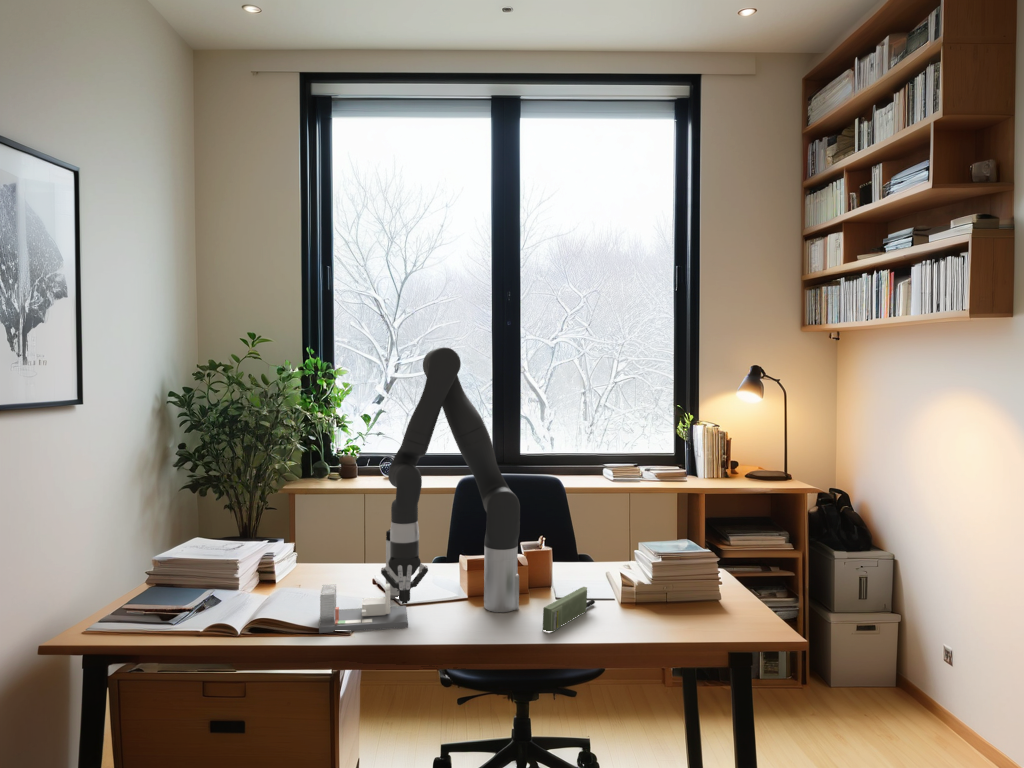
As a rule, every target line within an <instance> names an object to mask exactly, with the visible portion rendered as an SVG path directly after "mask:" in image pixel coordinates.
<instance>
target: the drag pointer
mask: <svg viewBox="0 0 1024 768" xmlns="http://www.w3.org/2000/svg"><path fill="white" fill-rule="evenodd" d="M339 609H340V607H339V606H336V608H335V624H338V621H339Z"/></svg>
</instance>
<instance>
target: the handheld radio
mask: <svg viewBox="0 0 1024 768" xmlns="http://www.w3.org/2000/svg"><path fill="white" fill-rule="evenodd" d="M595 603H596V600H595V599H593V598H592V599H591V600H589V601H588V587H586V586H582V587H579V588H578V589H576V590H574V591H572V592H570V593H568V594H567V595H564V596H563V597H561V598H559V599H557V600H556V601H554V602H551V603H550V604H548V605H546V606H544V607H543V612H542V616H543V617H542V631H543V630H546V631H554V630H555V631H557V630H558V629H557V628H559V627H560V628H562V627H561V625H563V624H565V623H567V622H568V621H570V620H572V619H573V618H575V617H577V616H578V615H580V614H582V613H584V612H585V613H586V612H587V608H589V607H591V606H592V605H595ZM585 613H584V614H585ZM582 615H583V614H582ZM580 616H581V615H580ZM577 618H578V617H577ZM575 619H576V618H575ZM572 621H573V620H572ZM570 622H571V621H570ZM567 624H568V623H567ZM565 625H566V624H565ZM560 628H559V629H560ZM556 629H557V630H556ZM555 631H554V632H555Z"/></svg>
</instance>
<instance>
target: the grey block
mask: <svg viewBox="0 0 1024 768" xmlns="http://www.w3.org/2000/svg"><path fill="white" fill-rule="evenodd" d="M319 596H320V597H319V598H320V599H319V601H320V602H319V605H320V606H319V608H320V609H319V612H320V613H319V614H320V615H319V623H320V622H330V621H334V620H335V608H336V607H337V584H323V585H322V586H321V590H320V595H319Z"/></svg>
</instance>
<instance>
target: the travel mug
mask: <svg viewBox="0 0 1024 768" xmlns="http://www.w3.org/2000/svg"><path fill="white" fill-rule="evenodd" d="M390 529H391V528H389V529H388V530H386V533H385V534H386V535H385V536H386V537H385V567H386V566H387V565H388V562H389V560H390ZM390 575H391V576H392V577H393V578H394V580H395V581H396V582H399V580H398V576H396V575H395V574H394V572H393V571H392V570H391V568H390ZM405 582H406V576H404V577H403V584H404V589H405ZM385 584H390V583H389V582H388V581H387V580H386V579H385ZM398 596H399V589H397V588H393V587H392V586H391V585H390V600H396V599H395V597H398Z"/></svg>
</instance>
